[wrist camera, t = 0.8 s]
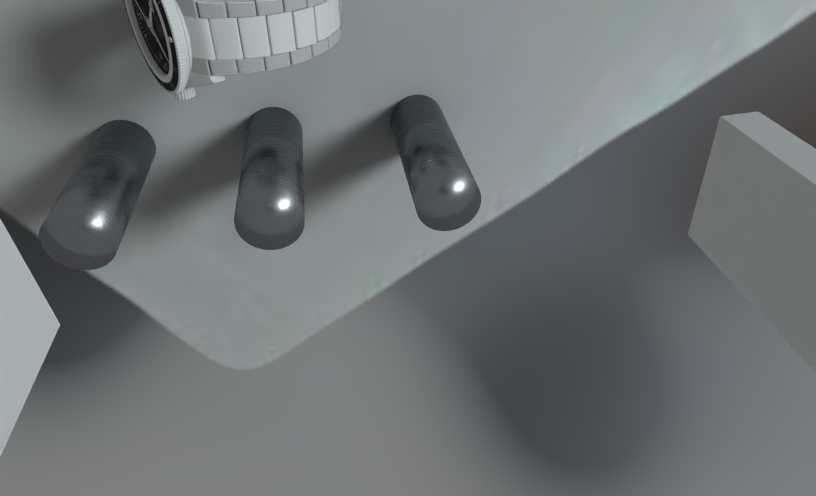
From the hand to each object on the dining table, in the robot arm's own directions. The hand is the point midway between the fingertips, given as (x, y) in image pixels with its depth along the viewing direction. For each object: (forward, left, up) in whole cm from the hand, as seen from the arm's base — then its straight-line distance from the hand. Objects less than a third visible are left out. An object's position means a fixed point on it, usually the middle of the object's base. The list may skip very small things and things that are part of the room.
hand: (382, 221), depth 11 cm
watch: (0, -4, -22) cm, 23 cm away
